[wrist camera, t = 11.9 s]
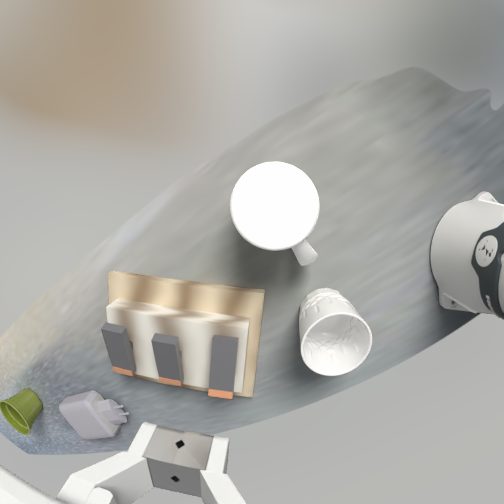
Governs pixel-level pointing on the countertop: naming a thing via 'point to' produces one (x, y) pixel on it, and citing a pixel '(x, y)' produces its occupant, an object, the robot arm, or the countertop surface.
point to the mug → (276, 209)
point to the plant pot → (21, 410)
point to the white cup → (332, 333)
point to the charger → (93, 415)
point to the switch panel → (196, 302)
